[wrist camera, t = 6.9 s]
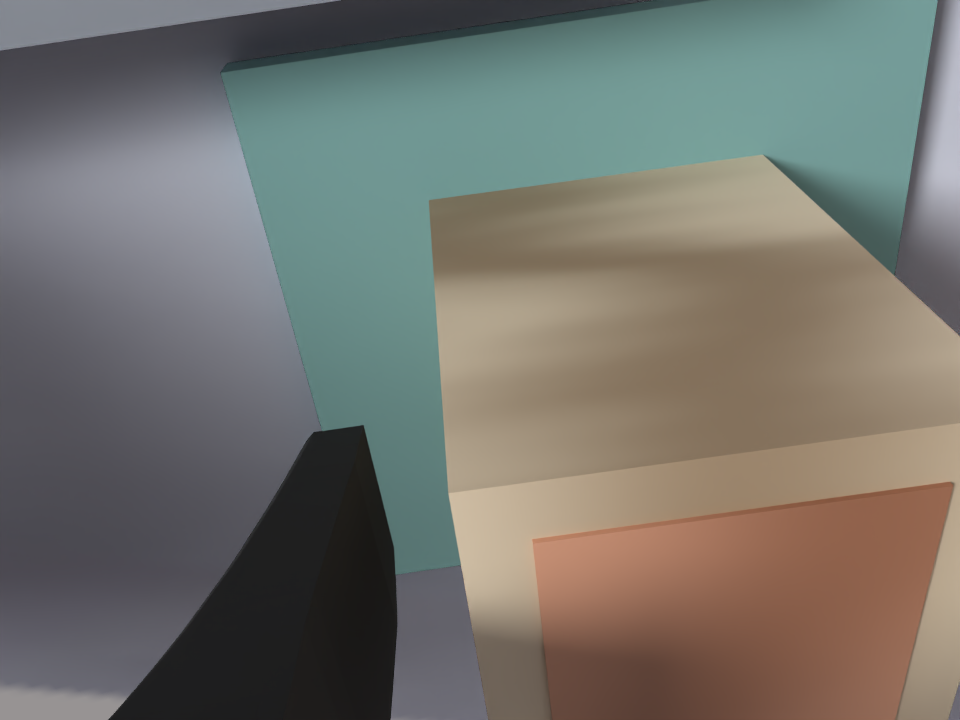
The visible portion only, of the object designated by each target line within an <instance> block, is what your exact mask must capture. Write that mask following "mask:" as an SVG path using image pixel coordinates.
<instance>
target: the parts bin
mask: <svg viewBox="0 0 960 720" xmlns="http://www.w3.org/2000/svg"><path fill="white" fill-rule="evenodd" d="M333 1H339V0H0V51H1V50H8V49H14V48H21V47H28V46H35V45H42V44H48V43H55V42H62V41H69V40H75V39H82V38H89V37H96V36H102V35H109V34H116V33H123V32H130V31H136V30H143V29H150V28H157V27H163V26H170V25H177V24H184V23H190V22H197V21H204V20H211V19H218V18H224V17H231V16H238V15H245V14H251V13H258V12H265V11H272V10H278V9H285V8H292V7H299V6H306V5H312V4H319V3H326V2H333Z"/></svg>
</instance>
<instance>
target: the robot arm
mask: <svg viewBox="0 0 960 720" xmlns="http://www.w3.org/2000/svg"><path fill="white" fill-rule="evenodd" d="M396 637H397V599H396V576H395V555H394V545H393V541H392V537H391V533H390V529H389V525H388V521H387V517H386V513H385V509H384V505H383V501H382V497H381V493H380V489H379V485H378V481H377V477H376V473H375V469H374V465H373V461H372V457H371V453H370V449H369V445H368V441H367V437H366V433H365V429H364V425H360V426H353V427H347V428H340V429H333V430H326V431H319V432H314V433H313V434H312V435H311V436H310V437H309V439H308V440H307V441H306V443H305V445H304V446H303V448H302V450H301V452H300V453H299V455H298V457H297V459H296V460H295V462H294V464H293V466H292V467H291V469H290V471H289V473H288V474H287V476H286V478H285V479H284V481H283V483H282V484H281V486H280V488H279V490H278V491H277V493H276V495H275V496H274V498H273V499H272V501H271V503H270V504H269V506H268V508H267V509H266V511H265V513H264V514H263V516H262V517H261V519H260V520H259V522H258V524H257V525H256V527H255V528H254V530H253V531H252V533H251V534H250V536H249V537H248V539H247V541H246V542H245V544H244V545H243V547H242V548H241V550H240V551H239V553H238V554H237V556H236V558H235V559H234V561H233V562H232V564H231V565H230V566H229V568H228V569H227V571H226V572H225V574H224V575H223V577H222V578H221V579H220V581H219V582H218V583H217V585H216V586H215V588H214V589H213V590H212V592H211V593H210V594H209V596H208V597H207V599H206V600H205V601H204V603H203V604H202V605H201V607H200V608H199V610H198V611H197V612H196V614H195V615H194V616H193V618H192V619H191V621H190V622H189V623H188V625H187V626H186V627H185V629H184V630H183V631H182V633H181V634H180V635H179V636H178V638H177V639H176V640H175V641H174V643H173V644H172V645H171V647H170V648H169V649H168V650H167V652H166V653H165V654H164V655H163V657H162V658H161V659H160V660H159V661H158V663H157V664H156V665H155V666H154V668H153V669H152V670H151V671H150V672H149V674H148V675H147V676H146V677H145V678H144V679H143V681H142V682H141V683H140V684H139V685H138V686H137V688H136V689H135V690H134V691H133V692H132V693H131V695H130V696H129V697H128V698H127V699H126V700H125V702H124V703H123V704H122V705H121V706H120V707H119V708H118V710H117V711H116V712H115V713H114V714H113V715H112V716H111V717H110V718H109V720H390V719H391V706H392V693H393V679H394V665H395V651H396Z"/></svg>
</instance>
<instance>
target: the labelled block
mask: <svg viewBox="0 0 960 720" xmlns="http://www.w3.org/2000/svg"><path fill="white" fill-rule="evenodd" d="M429 213H430V228H431V243H432V257H433V272H434V287H435V302H436V317H437V332H438V347H439V362H440V376H441V391H442V406H443V421H444V436H445V451H446V466H447V481H448V494H449V500H450V505H451V511H452V517H453V522H454V528H455V534H456V539H457V545H458V551H459V556H460V562H461V568H462V573H463V579H464V585H465V590H466V596H467V602H468V607H469V613H470V619H471V624H472V630H473V636H474V641H475V647H476V653H477V658H478V664H479V670H480V675H481V681H482V687H483V692H484V698H485V704H486V709H487V715H488V720H948V718H949V715H950V711H951V708H952V705H953V701H954V698H955V695H956V692H957V688H958V685H959V682H960V336H959V335H958V334H957V333H956V332H955V331H954V330H953V329H951V328H950V327H949V326H948V325H947V324H946V323H945V322H944V321H943V320H942V319H941V318H940V317H938V316H937V315H936V314H935V313H934V312H933V311H932V310H931V309H930V308H929V307H928V306H927V305H925V304H924V303H923V302H922V301H921V300H920V299H919V298H918V297H917V296H916V295H915V294H913V293H912V292H911V291H910V290H909V289H908V288H907V287H906V286H905V285H904V284H903V283H902V282H900V281H899V280H898V279H897V278H896V277H895V276H894V275H893V274H892V273H891V272H890V271H889V270H887V269H886V268H885V267H884V266H883V265H882V264H881V263H880V262H879V261H878V260H877V259H876V258H874V257H873V256H872V255H871V254H870V253H869V252H868V251H867V250H866V249H865V248H864V247H863V246H861V245H860V244H859V243H858V242H857V241H856V240H855V239H854V238H853V237H852V236H851V235H850V234H848V233H847V232H846V231H845V230H844V229H843V228H842V227H841V226H840V225H839V224H838V223H837V222H835V221H834V220H833V219H832V218H831V217H830V216H829V215H828V214H827V213H826V212H825V211H823V210H822V209H821V208H820V207H819V206H818V205H817V204H816V203H815V202H814V201H813V200H812V199H810V198H809V197H808V196H807V195H806V194H805V193H804V192H803V191H802V190H801V189H800V188H799V187H797V186H796V185H795V184H794V183H793V182H792V181H791V180H790V179H789V178H788V177H787V176H786V175H784V174H783V173H782V172H781V171H780V170H779V169H778V168H777V167H776V166H775V165H774V164H773V163H771V162H770V161H769V160H768V159H767V158H766V157H765V156H764V155H756V156H749V157H741V158H734V159H727V160H719V161H712V162H705V163H697V164H690V165H683V166H675V167H668V168H661V169H653V170H646V171H639V172H631V173H624V174H617V175H609V176H602V177H595V178H587V179H580V180H573V181H565V182H558V183H551V184H543V185H536V186H529V187H521V188H514V189H507V190H499V191H492V192H485V193H477V194H470V195H463V196H455V197H448V198H441V199H433V200H429Z"/></svg>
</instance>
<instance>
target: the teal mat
mask: <svg viewBox="0 0 960 720" xmlns="http://www.w3.org/2000/svg"><path fill="white" fill-rule="evenodd" d="M937 2H938V0H652V1H646V2H639V3H632V4H625V5H618V6H612V7H605V8H598V9H591V10H585V11H578V12H571V13H564V14H557V15H551V16H544V17H537V18H530V19H524V20H517V21H510V22H503V23H496V24H490V25H483V26H476V27H469V28H463V29H456V30H449V31H442V32H435V33H429V34H422V35H415V36H408V37H402V38H395V39H388V40H381V41H375V42H368V43H361V44H354V45H347V46H341V47H334V48H327V49H320V50H314V51H307V52H300V53H293V54H286V55H280V56H273V57H266V58H259V59H253V60H246V61H239V62H232V63H227V64H226V66H225V67H224V69H223V70H222V71H221V77H222V80H223V84H224V87H225V91H226V95H227V98H228V102H229V105H230V109H231V112H232V116H233V119H234V123H235V126H236V130H237V133H238V137H239V140H240V144H241V147H242V151H243V154H244V158H245V161H246V165H247V169H248V172H249V176H250V179H251V183H252V186H253V190H254V193H255V197H256V200H257V204H258V207H259V211H260V214H261V218H262V221H263V225H264V228H265V232H266V235H267V239H268V242H269V246H270V250H271V253H272V257H273V260H274V264H275V267H276V271H277V274H278V278H279V281H280V285H281V288H282V292H283V295H284V299H285V302H286V306H287V309H288V313H289V316H290V320H291V323H292V327H293V331H294V334H295V338H296V341H297V345H298V348H299V352H300V355H301V359H302V362H303V366H304V369H305V373H306V376H307V380H308V383H309V387H310V390H311V394H312V397H313V401H314V404H315V408H316V412H317V415H318V419H319V422H320V426H321V429H322V431H326V430H333V429H340V428H347V427H353V426H360V425H364V429H365V433H366V437H367V441H368V445H369V449H370V453H371V457H372V461H373V465H374V469H375V473H376V477H377V481H378V485H379V489H380V493H381V497H382V501H383V505H384V509H385V513H386V517H387V521H388V525H389V529H390V533H391V537H392V541H393V545H394V555H395V575H397V574H404V573H411V572H418V571H425V570H431V569H438V568H445V567H452V566H459V565H461V562H460V556H459V551H458V545H457V539H456V534H455V528H454V522H453V517H452V511H451V505H450V500H449V494H448V481H447V466H446V451H445V436H444V421H443V406H442V391H441V376H440V362H439V347H438V332H437V317H436V302H435V287H434V272H433V257H432V243H431V228H430V213H429V200H433V199H441V198H448V197H455V196H463V195H470V194H477V193H485V192H492V191H499V190H507V189H514V188H521V187H529V186H536V185H543V184H551V183H558V182H565V181H573V180H580V179H587V178H595V177H602V176H609V175H617V174H624V173H631V172H639V171H646V170H653V169H661V168H668V167H675V166H683V165H690V164H697V163H705V162H712V161H719V160H727V159H734V158H741V157H749V156H756V155H764V156H765V157H766V158H767V159H768V160H769V161H770V162H771V163H773V164H774V165H775V166H776V167H777V168H778V169H779V170H780V171H781V172H782V173H783V174H784V175H786V176H787V177H788V178H789V179H790V180H791V181H792V182H793V183H794V184H795V185H796V186H797V187H799V188H800V189H801V190H802V191H803V192H804V193H805V194H806V195H807V196H808V197H809V198H810V199H812V200H813V201H814V202H815V203H816V204H817V205H818V206H819V207H820V208H821V209H822V210H823V211H825V212H826V213H827V214H828V215H829V216H830V217H831V218H832V219H833V220H834V221H835V222H837V223H838V224H839V225H840V226H841V227H842V228H843V229H844V230H845V231H846V232H847V233H848V234H850V235H851V236H852V237H853V238H854V239H855V240H856V241H857V242H858V243H859V244H860V245H861V246H863V247H864V248H865V249H866V250H867V251H868V252H869V253H870V254H871V255H872V256H873V257H874V258H876V259H877V260H878V261H879V262H880V263H881V264H882V265H883V266H884V267H885V268H886V269H887V270H889V271H890V272H891V273H892V274H893V275H895V269H896V263H897V256H898V250H899V244H900V237H901V231H902V225H903V218H904V212H905V206H906V199H907V193H908V186H909V180H910V174H911V167H912V161H913V155H914V148H915V142H916V136H917V129H918V123H919V117H920V110H921V104H922V98H923V91H924V85H925V78H926V72H927V66H928V59H929V53H930V47H931V40H932V34H933V28H934V21H935V15H936V9H937Z"/></svg>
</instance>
